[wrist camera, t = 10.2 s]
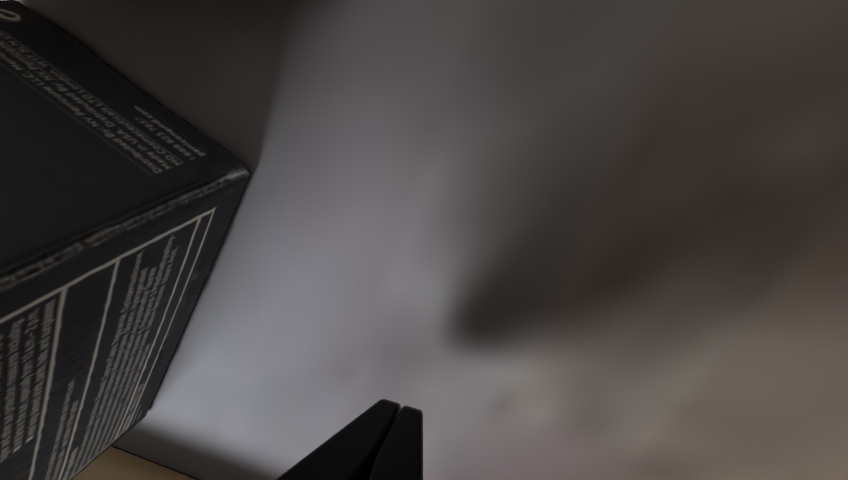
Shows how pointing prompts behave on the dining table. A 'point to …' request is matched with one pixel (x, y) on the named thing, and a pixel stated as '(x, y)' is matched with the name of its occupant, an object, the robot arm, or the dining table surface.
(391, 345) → the dining table surface
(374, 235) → the dining table surface
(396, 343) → the dining table surface
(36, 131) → the small box
